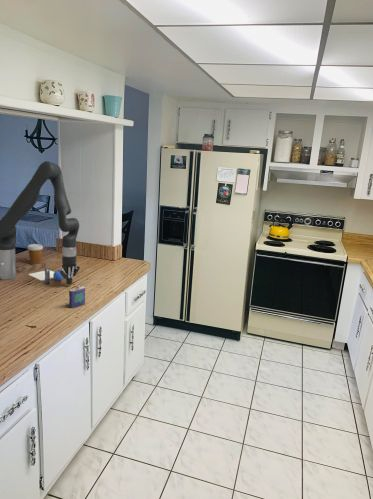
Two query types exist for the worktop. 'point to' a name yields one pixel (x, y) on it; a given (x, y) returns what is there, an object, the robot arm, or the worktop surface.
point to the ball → (57, 276)
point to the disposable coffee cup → (35, 253)
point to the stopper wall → (32, 267)
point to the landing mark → (41, 275)
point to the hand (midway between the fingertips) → (69, 284)
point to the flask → (76, 297)
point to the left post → (47, 276)
